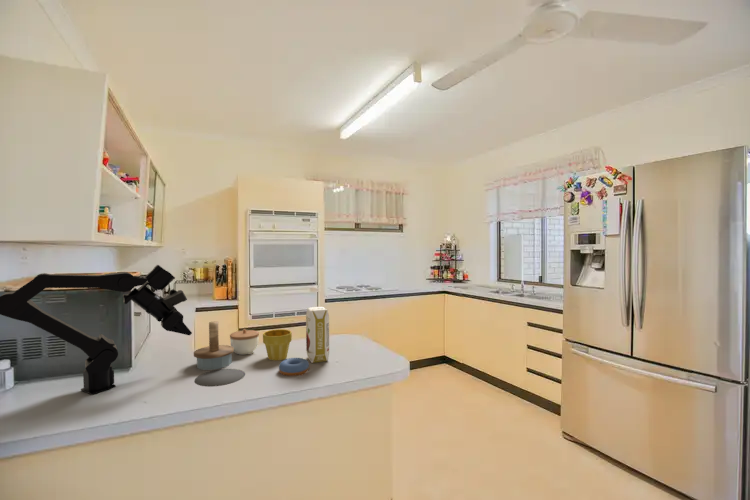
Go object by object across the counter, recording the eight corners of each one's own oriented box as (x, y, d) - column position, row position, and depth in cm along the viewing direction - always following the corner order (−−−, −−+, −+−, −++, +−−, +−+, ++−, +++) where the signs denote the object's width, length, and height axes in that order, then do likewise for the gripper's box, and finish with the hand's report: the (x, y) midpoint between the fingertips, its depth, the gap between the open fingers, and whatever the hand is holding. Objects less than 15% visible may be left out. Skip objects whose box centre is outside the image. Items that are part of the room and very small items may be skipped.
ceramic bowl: (211, 372, 122) (211, 359, 122) (190, 367, 127) (189, 354, 127) (237, 363, 132) (237, 350, 132) (217, 358, 137) (216, 346, 137)
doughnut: (293, 379, 116) (294, 364, 116) (272, 374, 122) (272, 360, 122) (315, 372, 124) (315, 359, 125) (294, 368, 130) (294, 355, 130)
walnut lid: (223, 359, 123) (222, 327, 122) (185, 358, 124) (185, 326, 123) (239, 347, 136) (239, 318, 135) (205, 346, 137) (205, 318, 136)
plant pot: (285, 363, 131) (284, 336, 131) (258, 362, 133) (257, 335, 133) (296, 354, 141) (295, 329, 141) (270, 353, 143) (270, 328, 143)
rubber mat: (216, 391, 108) (216, 389, 108) (183, 382, 115) (183, 380, 115) (255, 374, 121) (255, 373, 121) (223, 367, 128) (223, 366, 128)
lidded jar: (250, 358, 137) (249, 333, 137) (224, 356, 140) (223, 332, 139) (264, 349, 148) (263, 326, 148) (240, 348, 150) (239, 325, 150)
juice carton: (325, 354, 141) (324, 305, 141) (330, 361, 133) (330, 309, 133) (305, 357, 139) (305, 307, 138) (309, 364, 131) (309, 311, 130)
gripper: (175, 286, 113) (212, 317, 120) (166, 279, 128) (200, 308, 135) (145, 314, 109) (186, 345, 116) (139, 304, 123) (176, 332, 131)
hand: (188, 331), depth 124 cm, fingers open, 9 cm apart
